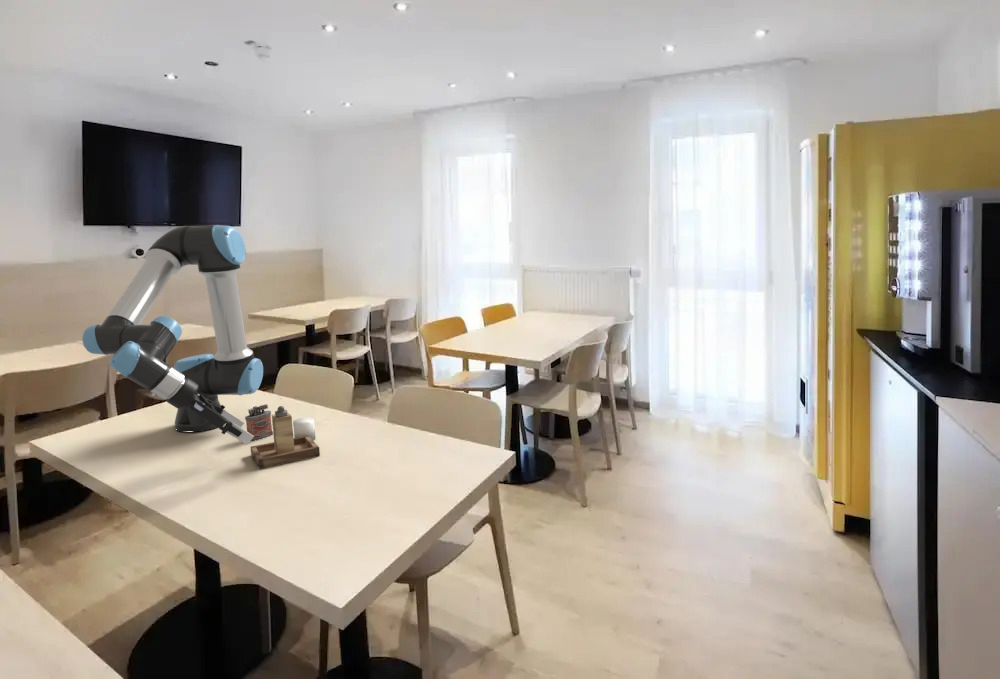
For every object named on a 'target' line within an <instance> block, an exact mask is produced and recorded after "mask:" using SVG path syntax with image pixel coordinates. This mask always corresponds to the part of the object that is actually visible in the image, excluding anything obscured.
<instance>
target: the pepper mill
mask: <svg viewBox="0 0 1000 679" xmlns="http://www.w3.org/2000/svg"><path fill="white" fill-rule="evenodd" d="M271 424H272V431H273V435H272V436H273V442H274V446H275V453H276V454H277V455H278V454H283V453H288V452H292V451H295V449H294V438H295V437H294V426H293V418H292V415H291V414H290V412H288V410H287V409H285V407H284V406H282V405H279V406H278V407H277V410H275V411H274V414H271Z"/></svg>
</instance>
